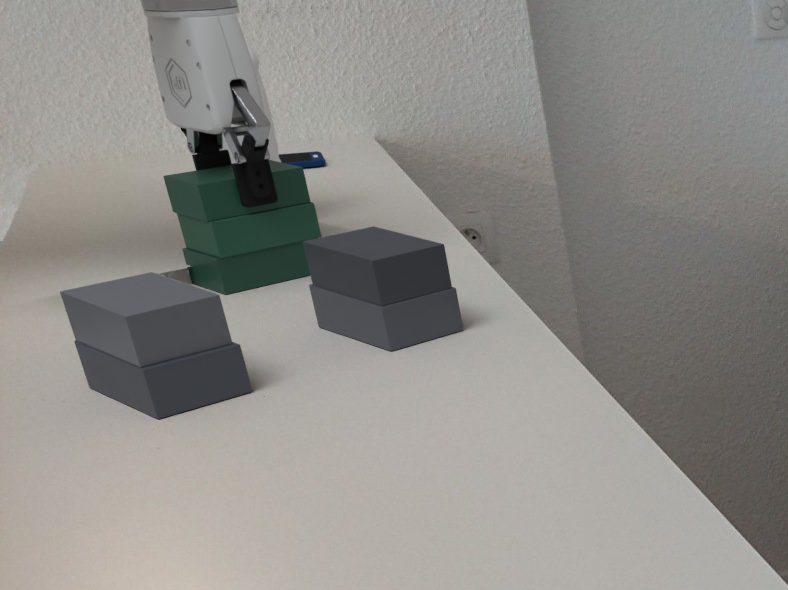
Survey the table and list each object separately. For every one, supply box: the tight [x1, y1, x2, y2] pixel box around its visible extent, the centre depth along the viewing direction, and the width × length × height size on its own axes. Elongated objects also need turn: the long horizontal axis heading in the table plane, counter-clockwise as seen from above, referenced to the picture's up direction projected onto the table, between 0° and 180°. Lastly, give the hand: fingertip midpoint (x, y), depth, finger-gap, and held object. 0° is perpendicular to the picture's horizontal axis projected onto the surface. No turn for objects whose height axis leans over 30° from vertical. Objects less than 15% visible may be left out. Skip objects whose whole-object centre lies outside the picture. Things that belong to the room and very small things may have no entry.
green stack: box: [176, 201, 323, 295], centre depth 124 cm, size 10×7×7 cm, turn 144°
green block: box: [162, 160, 312, 222], centre depth 122 cm, size 10×6×3 cm, turn 144°
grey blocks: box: [59, 226, 464, 420], centre depth 103 cm, size 26×11×8 cm, turn 144°
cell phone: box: [278, 151, 326, 168], centre depth 173 cm, size 7×14×1 cm, turn 118°
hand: (240, 197), depth 122 cm, fingers closed on green block, 6 cm apart
